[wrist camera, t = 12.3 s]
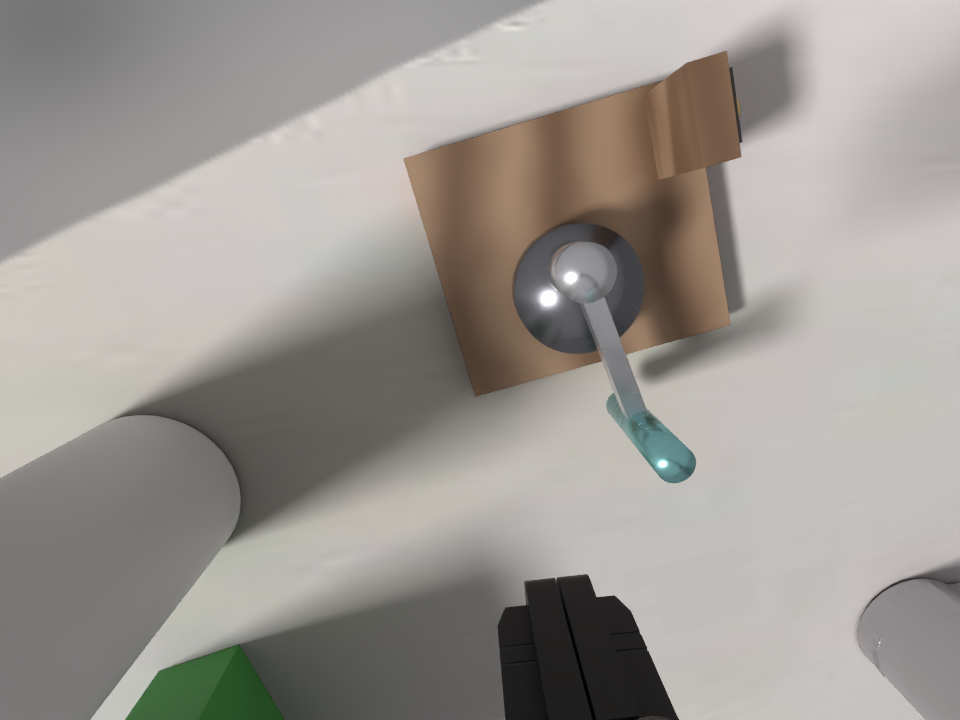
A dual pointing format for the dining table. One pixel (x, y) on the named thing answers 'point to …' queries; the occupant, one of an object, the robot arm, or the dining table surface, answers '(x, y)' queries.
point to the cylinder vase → (102, 557)
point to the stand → (584, 213)
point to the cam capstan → (596, 323)
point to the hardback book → (207, 691)
